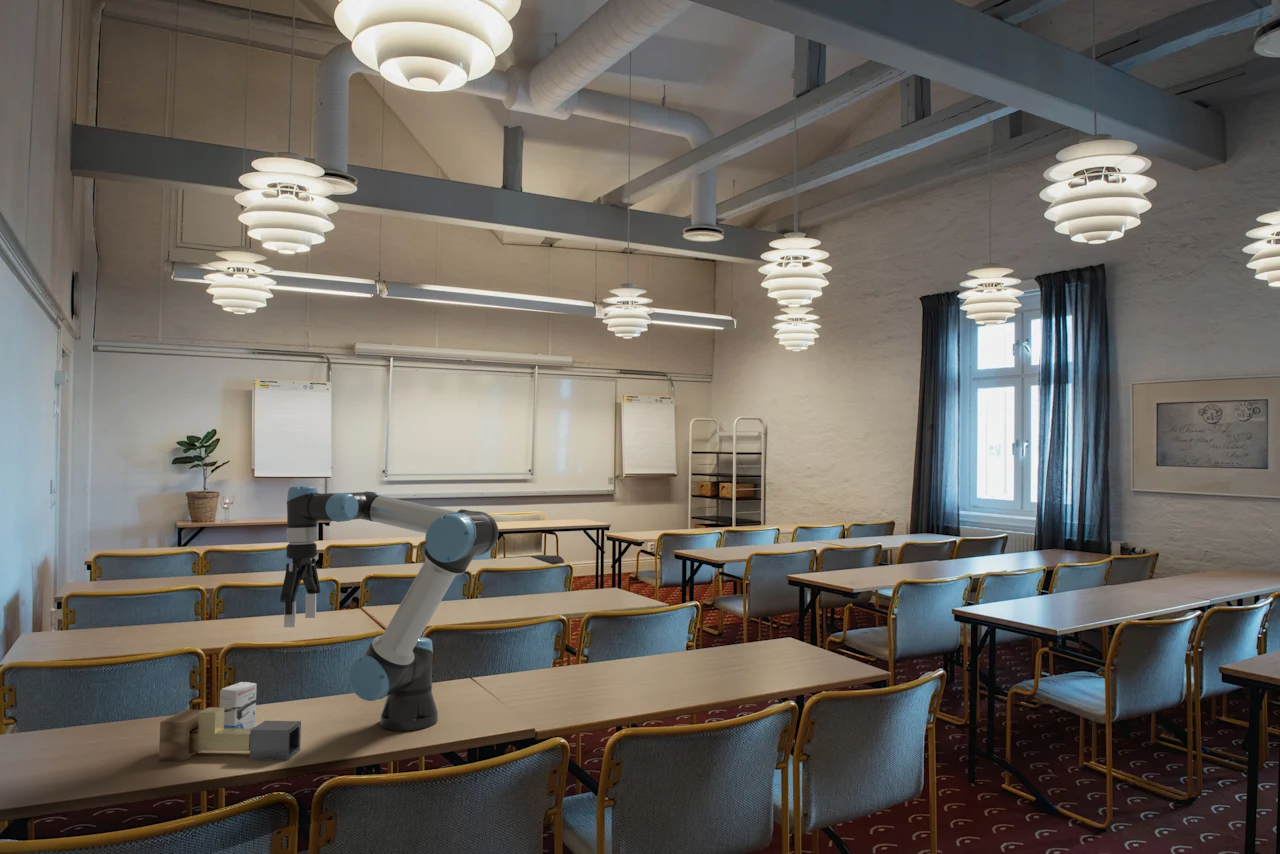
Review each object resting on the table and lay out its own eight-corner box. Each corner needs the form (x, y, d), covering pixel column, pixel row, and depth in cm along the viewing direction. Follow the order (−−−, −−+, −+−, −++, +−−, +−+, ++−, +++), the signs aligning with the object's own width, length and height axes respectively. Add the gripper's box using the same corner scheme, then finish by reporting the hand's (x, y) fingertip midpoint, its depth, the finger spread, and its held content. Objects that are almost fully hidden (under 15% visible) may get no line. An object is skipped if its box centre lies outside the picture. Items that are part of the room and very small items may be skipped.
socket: (207, 746, 198) (209, 709, 199) (183, 761, 188) (185, 722, 189) (184, 746, 198) (185, 709, 199) (158, 760, 188) (160, 722, 189)
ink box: (234, 737, 205) (235, 690, 206) (217, 735, 206) (218, 689, 207) (256, 726, 214) (257, 682, 214) (240, 725, 215) (241, 681, 215)
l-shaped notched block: (257, 745, 195) (258, 708, 195) (248, 751, 191) (250, 712, 191) (189, 744, 195) (190, 707, 196) (179, 750, 191) (180, 712, 192)
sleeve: (300, 750, 196) (301, 721, 196) (286, 760, 189) (287, 730, 189) (264, 749, 196) (265, 720, 197) (249, 759, 189) (250, 729, 190)
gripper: (306, 539, 228) (305, 614, 227) (266, 547, 203) (265, 631, 202) (332, 539, 228) (331, 613, 227) (296, 546, 204) (295, 630, 202)
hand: (300, 622), depth 215 cm, fingers open, 13 cm apart
